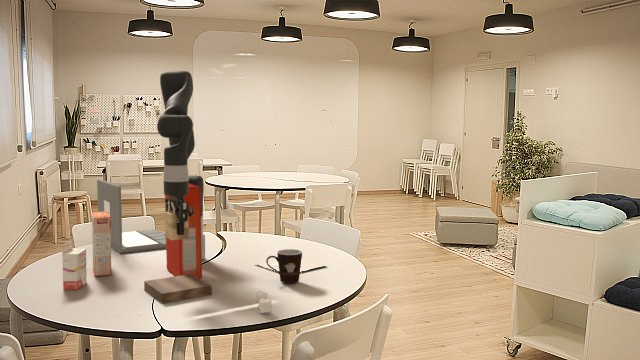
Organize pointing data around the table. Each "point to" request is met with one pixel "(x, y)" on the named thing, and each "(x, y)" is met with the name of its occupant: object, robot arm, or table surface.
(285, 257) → the coffee mug
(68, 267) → the ink cartridge box
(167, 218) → the oak block
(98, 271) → the cracker box
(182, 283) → the walnut base
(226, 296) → the table surface
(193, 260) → the file binder
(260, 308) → the game pieces
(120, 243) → the laptop
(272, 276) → the table surface
